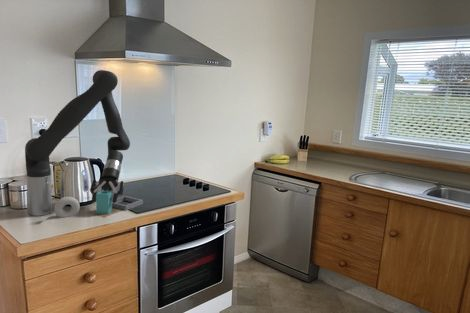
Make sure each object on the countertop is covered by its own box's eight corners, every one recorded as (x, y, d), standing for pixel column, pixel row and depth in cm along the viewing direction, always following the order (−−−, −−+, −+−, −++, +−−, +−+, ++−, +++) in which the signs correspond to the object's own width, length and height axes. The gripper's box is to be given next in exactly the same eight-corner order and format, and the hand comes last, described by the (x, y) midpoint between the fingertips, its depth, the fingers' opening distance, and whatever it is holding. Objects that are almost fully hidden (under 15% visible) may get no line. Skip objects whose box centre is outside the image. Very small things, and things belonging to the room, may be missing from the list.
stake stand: (87, 216, 155) (87, 202, 154) (104, 210, 164) (104, 196, 163) (104, 220, 151) (104, 206, 150) (120, 214, 160) (120, 200, 159)
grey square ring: (106, 208, 166) (106, 201, 166) (124, 202, 177) (124, 195, 177) (125, 213, 161) (125, 206, 161) (142, 206, 172) (143, 199, 172)
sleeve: (96, 213, 155) (96, 194, 153) (100, 209, 160) (100, 190, 158) (108, 214, 155) (108, 194, 153) (112, 210, 160) (111, 191, 159)
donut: (55, 222, 146) (54, 199, 145) (54, 219, 149) (53, 196, 148) (80, 218, 152) (80, 196, 150) (79, 216, 155) (78, 194, 153)
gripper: (94, 166, 162) (85, 197, 153) (125, 167, 163) (118, 198, 153) (98, 174, 168) (90, 205, 159) (128, 176, 169) (121, 206, 159)
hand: (103, 201), depth 156 cm, fingers open, 8 cm apart
